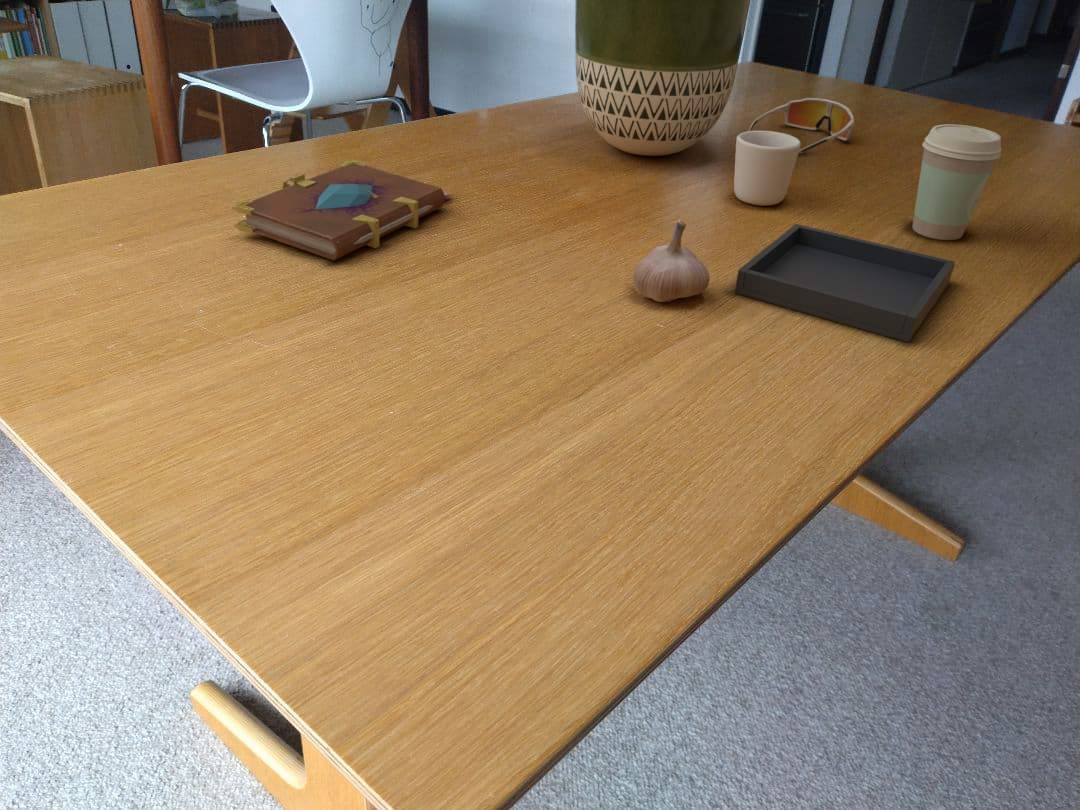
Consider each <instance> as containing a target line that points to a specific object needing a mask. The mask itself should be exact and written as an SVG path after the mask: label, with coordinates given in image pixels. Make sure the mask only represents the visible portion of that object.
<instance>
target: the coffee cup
mask: <svg viewBox="0 0 1080 810" xmlns="http://www.w3.org/2000/svg"><path fill="white" fill-rule="evenodd" d="M1001 143H1002V138H1001V135H1000V134H998V133H997V132H994V131H992V130H989V129H986V128H982V127H977V126H973V125H965V124H956V123H955V124H952V123H949V124H948V123H945V124H938V125H934V126H933V127H932V128H930V130H929V133H928V135H927V136H926V137H925V138H924V141H923V142H922V147H923V153H922V154H923V155H922V159H921V167H920V173H919V179H918V185H917V186H918V187H917V193H916V200H915V204H914V205H915V206H914V213H913V219H912V226H911V227H912V230H913V231H914V232H915V233H916V234H918V235H920V236H923V237H926V238H929V239H933V240H939V241H955V240H959V239H961V238H963V235H964V234H965V231H966V229H967V227H968V224H969V222H970V221H971V218H972V215H973V213H974V211H975V209H976V207H977V205H978V203H979V200H980V197H981V195H982V193H983V191H984V188H985V186H986V184H987V182H988V179H989V177H990V175H991V173H992V170H993V168H994V167H995V163H996V162H997V160H998V159H999V158H1000V157H1002V154H1001V152H1002V150H1003V148H1002V145H1001Z"/></svg>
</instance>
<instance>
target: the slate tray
mask: <svg viewBox="0 0 1080 810" xmlns="http://www.w3.org/2000/svg"><path fill="white" fill-rule="evenodd" d="M955 265H956V261H954V260H949V259H946V258H941V257H936V256H934V255H933V256H932V255H929V254H925V253H920V252H916V251H912V250H908V249H903V248H899V247H895V246H891V245H886V244H882V243H878V242H875V241H871V240H866V239H862V238H858V237H854V236H848V235H845V234H840V233H836V232H832V231H827V230H824V229H820V228H815V227H811V226H807V225H802V224H800V223H799V224H798V223H795V224H794V225H792V226H791V227H790V228H788V229H787V230H785V232H784V233H782V234H781V235H780V236H779V237H777V239H775V240H774V241H772V242H771V243H770V244H768V245H767V246H766V247H765V248H764V249H763V250H762V251H760V252H759V253H758V254H757V255H755V256H754V257H753V258H752V259H750V260H749V261H748V262H746V263H745V264H744V265H742V266H741V267H740V268H739V269H738V271H737V276H736V282H735V289H734V294H738V295H740V296H744V297H748V298H751V299H755V300H758V301H762V302H765V303H769V304H772V305H775V306H779V307H783V308H787V309H790V310H794V311H797V312H800V313H804V314H807V315H811V316H813V317H818V318H821V319H825V320H828V321H832V322H834V323H839V324H843V325H846V326H850V327H853V328H857V329H860V330H863V331H867V332H870V333H874V334H877V335H880V336H884V337H888V338H892V339H895V340H898V341H901V342H906V343H909V342H910V341H911V339H912V338H913V337H914V335H915V334H916V332H917V331H918V329H919V328H920V327H921V325H922V323H923V322H924V321H925V319H926V318H927V317H928V314H929V313H931V310H932V309H933V308H934V306H935V305H936V303H937V301H938V300H939V299H940V297H941V296H942V294H943V293H944V292H945V290H946V288H947V287H948V286H949V284H950V281H951V278H952V274H953V272H954V269H955Z"/></svg>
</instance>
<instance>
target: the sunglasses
mask: <svg viewBox="0 0 1080 810" xmlns="http://www.w3.org/2000/svg"><path fill="white" fill-rule="evenodd" d="M782 112H784V124H785V125H786V126H790V127H793V128H798V129H804V130H811V131H816V130H818V129H819V128H820V127H821V126H822V124H824V122H825V121H826V120H827V131H828V132H829V133H830V136H826V137H824V138H822V139H820V140H818V141H815V142H814V143H812V144H811V143H810V144H809V145H807V146H805V147H803V148H800V149H799V153H798V154H803V153H805V152H808V151H810V150H812V149H814V148H817V147H818V146H821V145H823V144H825V143H828V142H831V141H832V142H833V140H835V139H839V140H840V141H841V140H842V141H843V142H847V141H849V138H850V137H851V135H852V131H853V128H854V125H855V118H854V117H855V116H854V115H853V113H852V111H851V110H850V108H849V107H847V106H846V105H844V104H842V103H840V102H839V101H836V100H835V101H834V100H830V99H826V98H817V97H805V98H803V99H796V100H795V99H794V100H790V101H789V102H787V103H786V104H782V105H779V106H777V107H775V108H773V109H770V110H768V111H767V112H765V113H763V114H761V115H760V116H758V117H757V118H755V119H754V120H753V122H752V123H751V124H750V126H749V128H748V131H753V129H754V126H756V124H757V123H759V122H761V121H762V120H763V119H765V118H766V117H768V116H770V115H773V114H780V113H782Z"/></svg>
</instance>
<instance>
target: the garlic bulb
mask: <svg viewBox="0 0 1080 810" xmlns="http://www.w3.org/2000/svg"><path fill="white" fill-rule="evenodd" d="M686 226H687V223H686V222H685V221H683V220H682V219H678V220H677V222H676V223H675V228H674V232H673V234H672V236H671V239H670V241H669V243H668V244H661V245H659V246H656V247H655V248H653V249H652V250H651V251H650V252H649V253H648V254H647V255H646V256H645V257H644V258H642V259H640V261H638V263H637V264H636V266H635V268H634V270H633V274H632V283H633V286H634V289H635V290H636V292H638V294H639V295H640V296H642V297H644V298H647V299H652V300H653V301H655V302H658V303H665V302H671V301H672V302H673V301H674V300H678V299H680V298H682V299H685V298H689V297H692V296H698V295H700V294H702V293H703V292H704V291H705V290H706V289H707V288H708V286H709V283H710V273H709V270H708V268H707V266H706V265H705V264H704V263H703V262H701V261H700V260H699V259H698V258H697V256H696V255H695V253H694V252H693V251H692V250H691V249H690V248H687V247H684V246H683V245H682V237H683V234H684V231H685V229H686Z"/></svg>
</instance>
